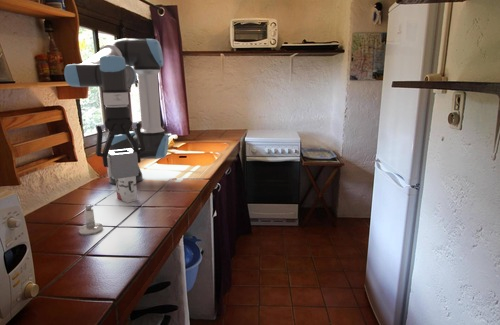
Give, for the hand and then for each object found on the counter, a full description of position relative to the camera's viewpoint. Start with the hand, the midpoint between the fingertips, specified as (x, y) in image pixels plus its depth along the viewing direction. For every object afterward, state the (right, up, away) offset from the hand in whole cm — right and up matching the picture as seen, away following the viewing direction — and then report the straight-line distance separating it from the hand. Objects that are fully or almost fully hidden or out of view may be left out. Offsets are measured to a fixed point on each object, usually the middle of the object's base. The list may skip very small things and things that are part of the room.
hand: (123, 173), depth 115 cm
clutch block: (0, 0, 0) cm, 0 cm away
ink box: (-7, -11, +24) cm, 27 cm away
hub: (-9, -18, -5) cm, 21 cm away
